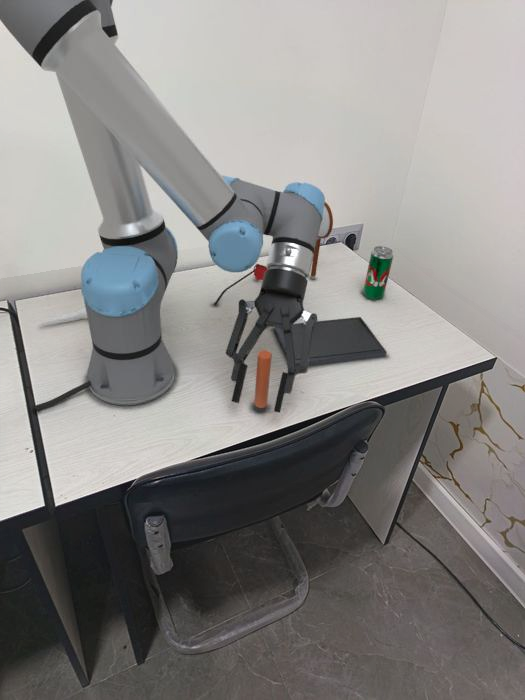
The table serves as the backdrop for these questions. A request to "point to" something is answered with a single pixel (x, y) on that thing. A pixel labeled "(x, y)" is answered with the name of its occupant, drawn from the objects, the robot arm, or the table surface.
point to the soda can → (378, 272)
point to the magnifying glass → (322, 235)
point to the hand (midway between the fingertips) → (255, 406)
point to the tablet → (335, 341)
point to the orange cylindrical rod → (262, 381)
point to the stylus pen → (68, 317)
